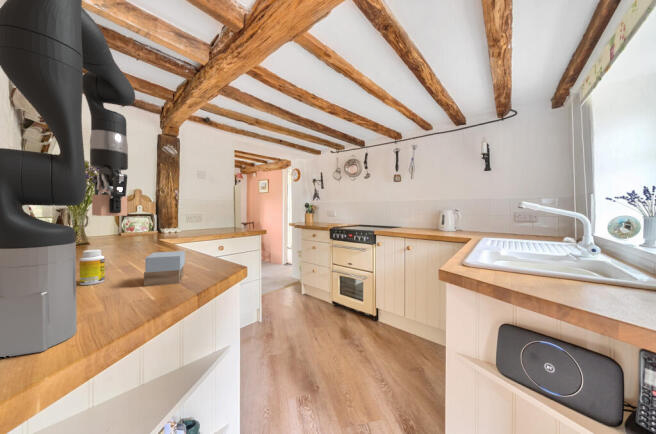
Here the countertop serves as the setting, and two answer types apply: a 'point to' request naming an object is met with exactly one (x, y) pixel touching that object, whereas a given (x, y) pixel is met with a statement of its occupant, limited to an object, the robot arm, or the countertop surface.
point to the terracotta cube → (106, 206)
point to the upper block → (164, 261)
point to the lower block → (162, 277)
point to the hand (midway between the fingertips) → (110, 212)
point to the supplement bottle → (91, 267)
